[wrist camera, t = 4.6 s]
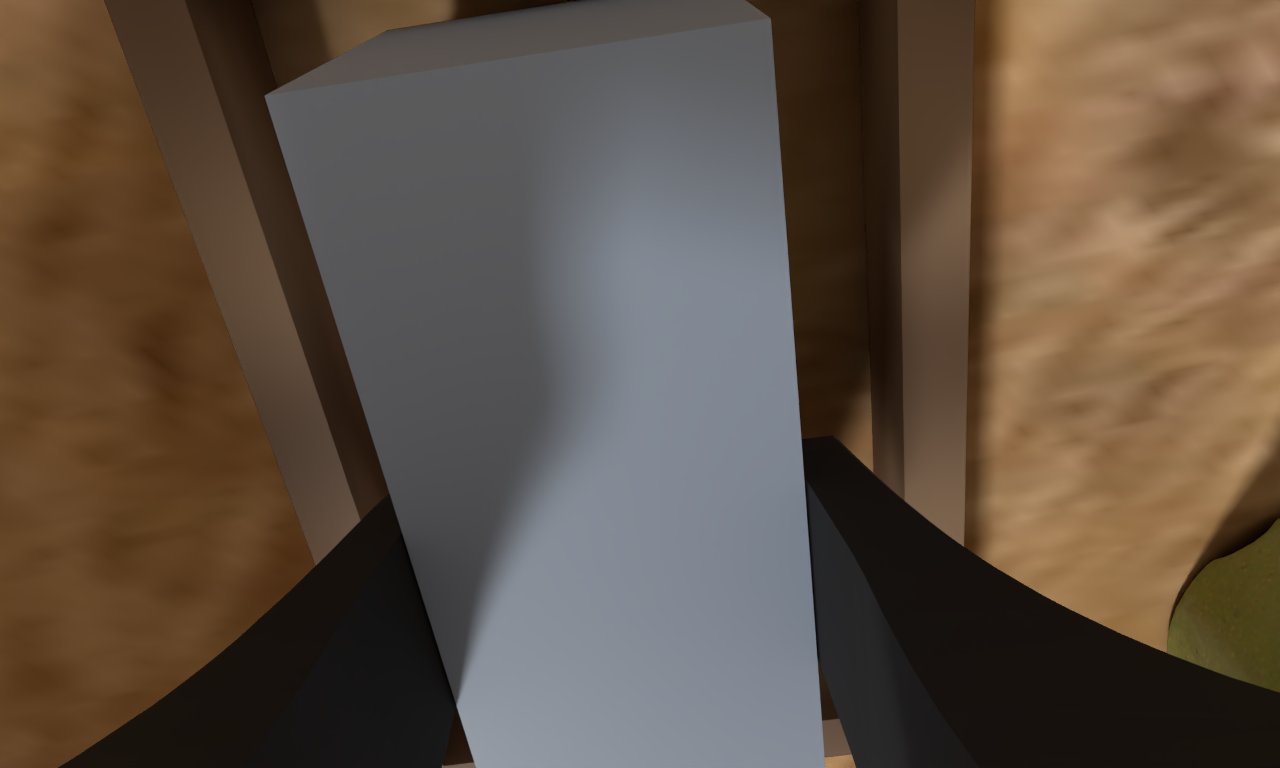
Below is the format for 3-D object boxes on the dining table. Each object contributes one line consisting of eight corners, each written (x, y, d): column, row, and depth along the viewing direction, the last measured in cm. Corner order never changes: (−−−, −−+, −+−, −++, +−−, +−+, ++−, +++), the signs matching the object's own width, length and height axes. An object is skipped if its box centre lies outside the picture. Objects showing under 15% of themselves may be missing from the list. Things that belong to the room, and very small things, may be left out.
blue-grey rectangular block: (780, 652, 18) (834, 897, 14) (549, 680, 18) (527, 931, 14) (716, -21, 13) (770, 18, 8) (387, 30, 13) (263, 95, 8)
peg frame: (926, 660, 20) (959, 741, 18) (425, 721, 21) (405, 806, 19) (924, -206, 13) (980, -227, 11) (153, -82, 13) (74, -80, 11)
